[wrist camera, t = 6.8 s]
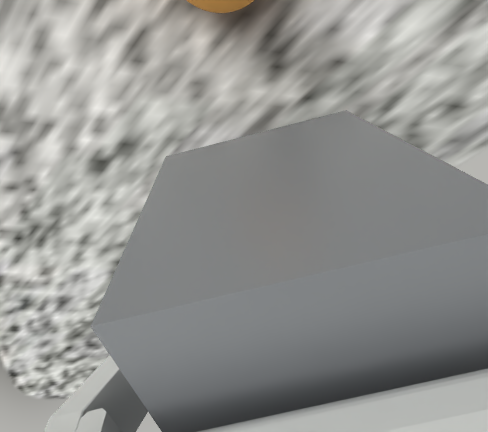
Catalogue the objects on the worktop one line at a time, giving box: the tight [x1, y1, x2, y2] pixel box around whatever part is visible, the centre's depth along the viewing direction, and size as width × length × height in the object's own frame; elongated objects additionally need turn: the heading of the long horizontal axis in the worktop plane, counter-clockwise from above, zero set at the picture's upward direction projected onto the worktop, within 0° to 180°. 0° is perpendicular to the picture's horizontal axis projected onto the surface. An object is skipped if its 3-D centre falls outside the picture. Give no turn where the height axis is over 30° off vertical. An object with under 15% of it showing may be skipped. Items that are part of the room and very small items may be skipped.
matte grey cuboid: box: [91, 111, 488, 432], centre depth 11 cm, size 7×7×9 cm
